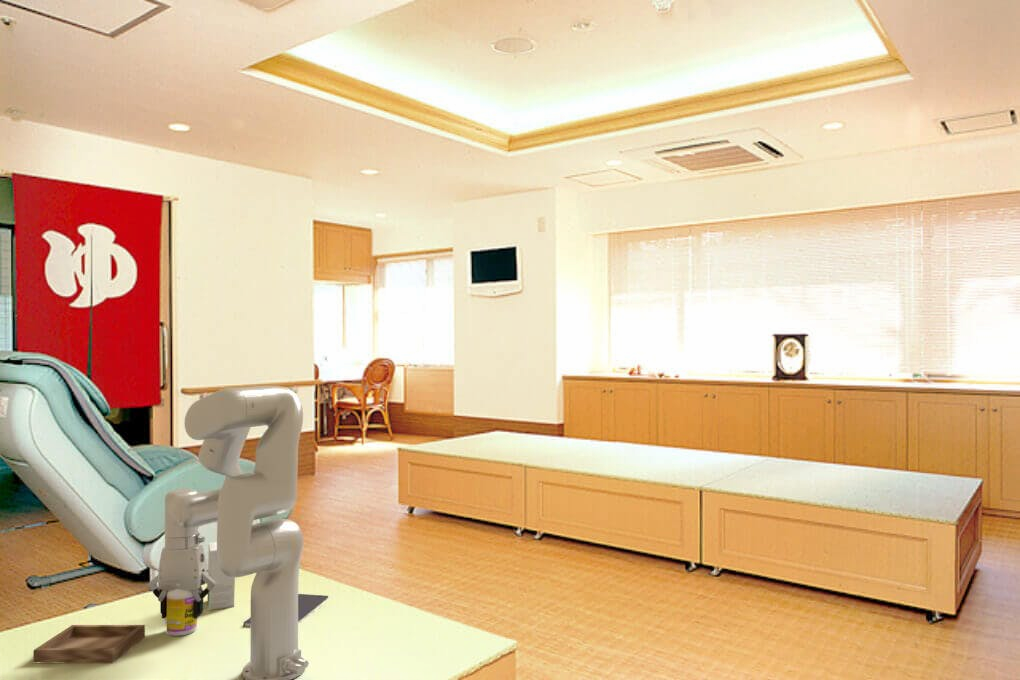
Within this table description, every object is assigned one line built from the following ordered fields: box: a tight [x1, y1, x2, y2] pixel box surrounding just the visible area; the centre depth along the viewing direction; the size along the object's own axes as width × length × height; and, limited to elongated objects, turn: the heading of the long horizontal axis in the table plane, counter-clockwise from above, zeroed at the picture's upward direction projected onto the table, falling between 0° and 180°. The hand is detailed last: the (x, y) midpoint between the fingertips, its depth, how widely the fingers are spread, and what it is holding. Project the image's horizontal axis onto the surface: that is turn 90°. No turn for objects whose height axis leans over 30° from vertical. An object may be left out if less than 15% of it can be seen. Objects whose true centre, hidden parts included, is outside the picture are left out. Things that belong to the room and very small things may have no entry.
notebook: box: [243, 593, 329, 627], centre depth 187 cm, size 13×2×21 cm
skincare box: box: [207, 541, 236, 611], centre depth 193 cm, size 8×7×16 cm
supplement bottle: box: [166, 584, 198, 637], centre depth 174 cm, size 7×7×13 cm
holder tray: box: [32, 624, 146, 664], centre depth 164 cm, size 17×14×3 cm
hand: (181, 615), depth 174 cm, fingers open, 6 cm apart
